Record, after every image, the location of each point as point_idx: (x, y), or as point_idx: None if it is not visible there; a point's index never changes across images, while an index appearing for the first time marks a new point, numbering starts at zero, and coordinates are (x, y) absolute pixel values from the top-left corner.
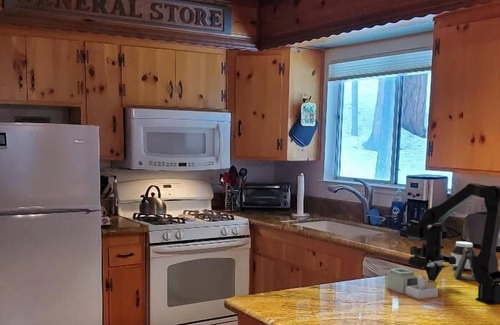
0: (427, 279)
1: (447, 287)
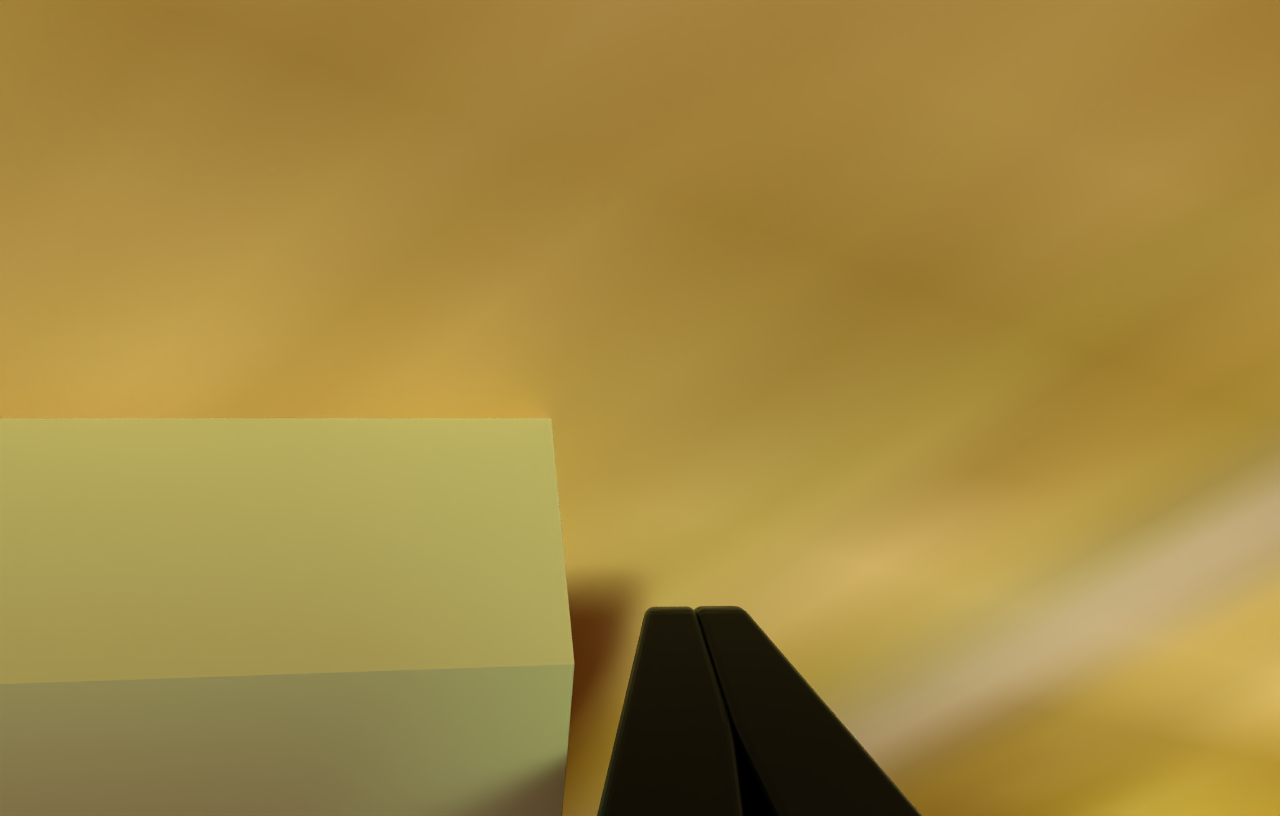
0: (501, 757)
1: (1039, 745)
